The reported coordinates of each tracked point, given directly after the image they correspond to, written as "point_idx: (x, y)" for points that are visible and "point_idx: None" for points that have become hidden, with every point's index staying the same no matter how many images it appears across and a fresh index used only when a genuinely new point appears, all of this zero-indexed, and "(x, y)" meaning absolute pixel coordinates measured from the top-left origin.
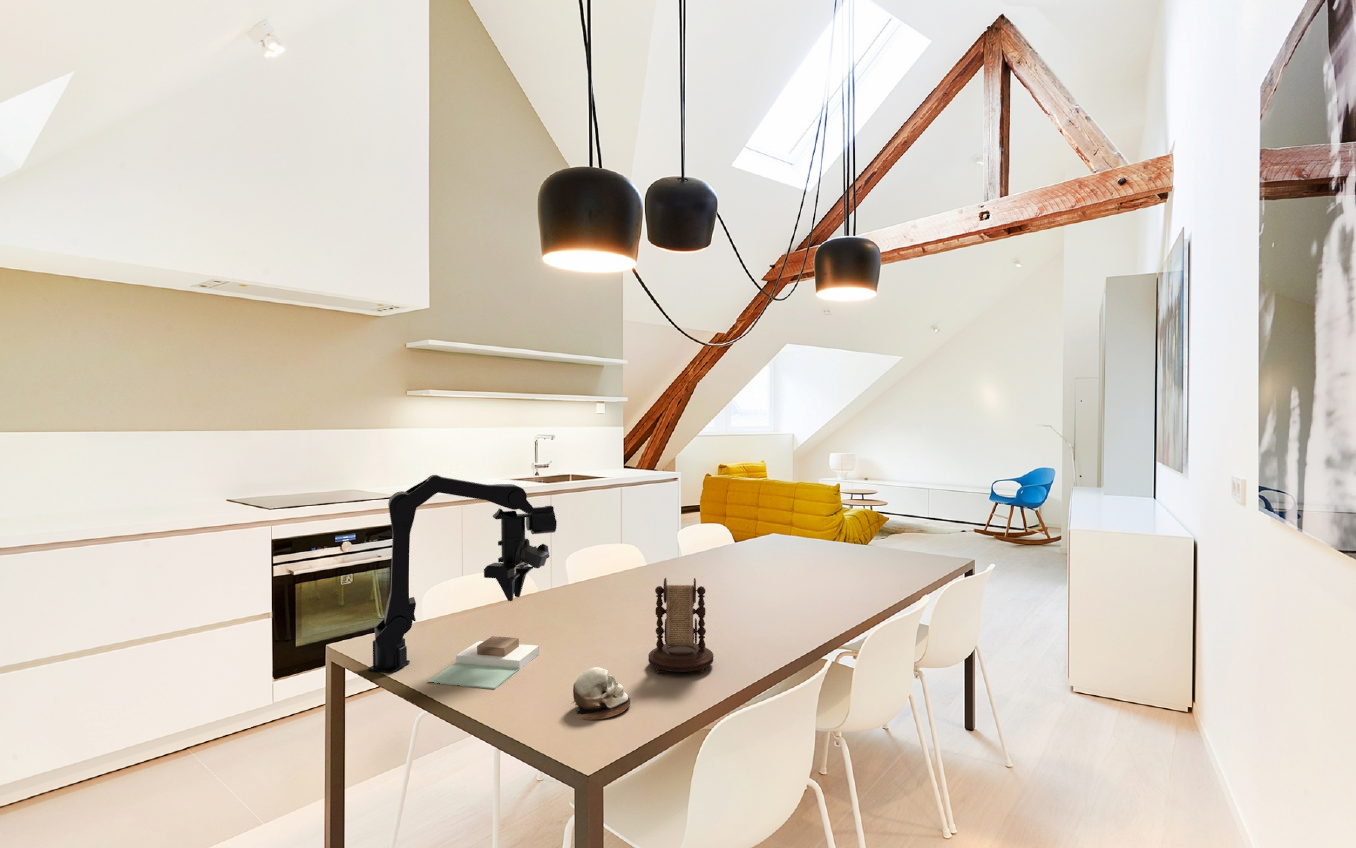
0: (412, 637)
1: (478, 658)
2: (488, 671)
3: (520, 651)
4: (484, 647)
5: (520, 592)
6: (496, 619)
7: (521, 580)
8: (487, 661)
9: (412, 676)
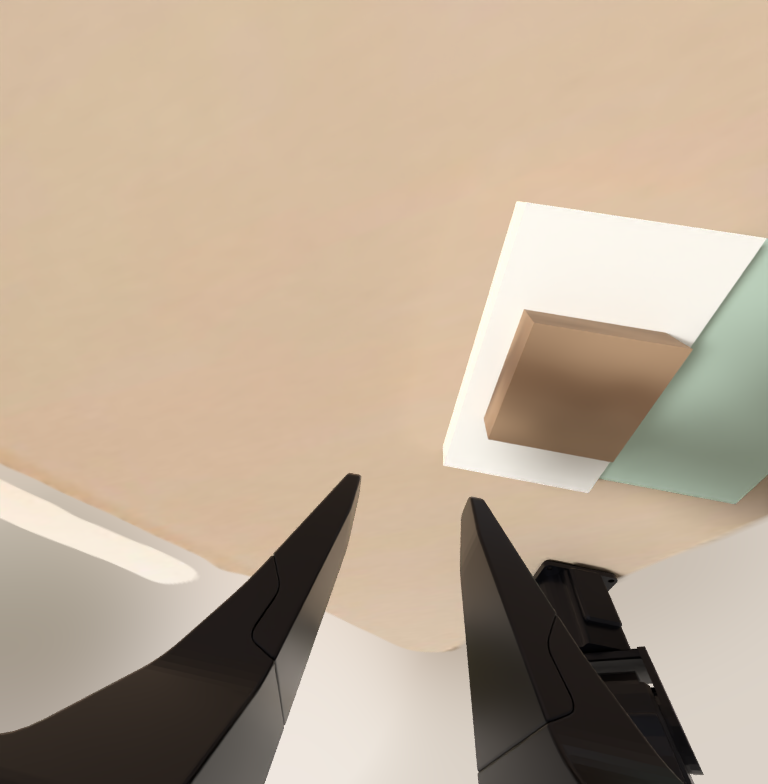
0: (360, 583)
1: None
2: (720, 359)
3: (605, 279)
4: (630, 434)
5: (340, 495)
6: (176, 464)
7: (301, 612)
8: None
9: (653, 537)
